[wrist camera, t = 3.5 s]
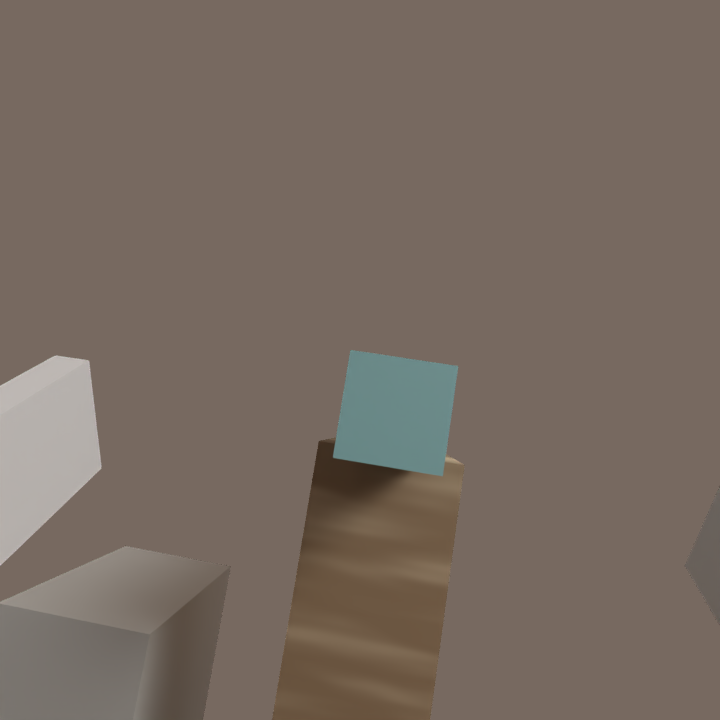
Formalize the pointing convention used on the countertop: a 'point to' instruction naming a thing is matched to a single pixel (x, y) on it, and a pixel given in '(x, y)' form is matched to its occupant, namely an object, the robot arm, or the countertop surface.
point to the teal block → (396, 412)
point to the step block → (113, 640)
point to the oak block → (369, 592)
